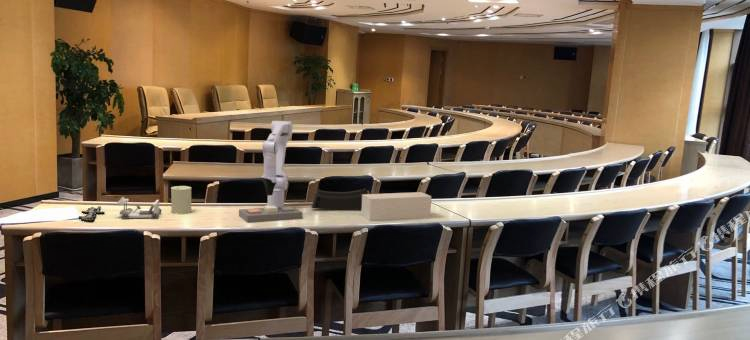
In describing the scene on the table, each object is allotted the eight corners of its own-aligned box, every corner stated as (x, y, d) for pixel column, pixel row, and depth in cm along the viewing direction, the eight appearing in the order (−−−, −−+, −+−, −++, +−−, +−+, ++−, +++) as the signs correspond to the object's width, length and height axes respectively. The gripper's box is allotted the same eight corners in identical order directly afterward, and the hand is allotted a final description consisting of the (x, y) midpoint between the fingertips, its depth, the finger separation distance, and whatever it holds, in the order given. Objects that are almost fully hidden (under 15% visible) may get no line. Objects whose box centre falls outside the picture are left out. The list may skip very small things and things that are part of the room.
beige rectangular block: (420, 213, 305) (421, 192, 303) (430, 217, 295) (431, 196, 293) (361, 216, 292) (362, 194, 291) (369, 221, 282) (370, 198, 281)
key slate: (280, 213, 286) (280, 207, 286) (290, 212, 289) (290, 206, 288) (283, 216, 282) (283, 209, 281) (293, 215, 284) (293, 209, 284)
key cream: (263, 212, 282) (263, 206, 282) (274, 211, 285) (274, 205, 284) (267, 214, 278) (267, 208, 278) (277, 214, 280) (277, 207, 280)
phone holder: (114, 198, 264) (119, 193, 275) (115, 220, 265) (120, 214, 276) (158, 198, 268) (161, 193, 279) (158, 219, 269) (161, 214, 280)
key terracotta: (246, 216, 279) (247, 209, 278) (257, 215, 281) (257, 209, 281) (250, 218, 274) (250, 212, 274) (260, 217, 277) (260, 211, 276)
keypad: (238, 215, 282) (238, 209, 281) (291, 212, 294) (291, 205, 293) (247, 222, 269) (247, 216, 269) (302, 218, 282) (302, 212, 281)
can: (166, 212, 282) (166, 187, 280) (178, 208, 290) (178, 184, 289) (184, 214, 279) (183, 189, 277) (195, 210, 288) (195, 186, 286)
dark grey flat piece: (102, 219, 260) (76, 220, 256) (102, 223, 260) (76, 224, 256) (106, 206, 285) (82, 206, 281) (106, 209, 285) (82, 210, 282)
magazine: (307, 192, 297) (365, 176, 301) (307, 191, 300) (364, 174, 304) (316, 225, 300) (374, 208, 305) (316, 223, 303) (372, 206, 308)
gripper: (257, 164, 287) (256, 192, 289) (266, 169, 275) (266, 198, 277) (271, 164, 291) (270, 191, 293) (281, 168, 278) (280, 197, 280)
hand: (269, 195), depth 285 cm, fingers closed
